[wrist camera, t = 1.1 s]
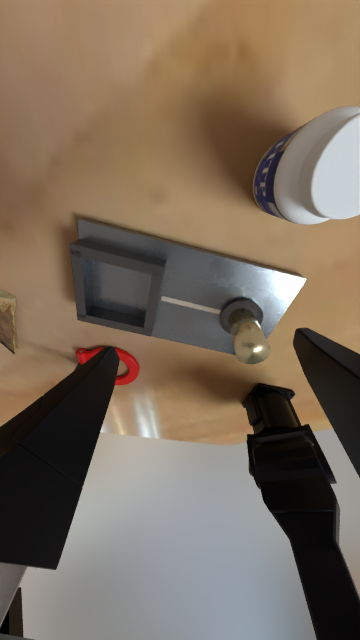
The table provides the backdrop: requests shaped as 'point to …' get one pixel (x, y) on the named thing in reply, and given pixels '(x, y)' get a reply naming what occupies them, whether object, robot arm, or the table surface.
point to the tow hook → (123, 356)
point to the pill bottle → (313, 170)
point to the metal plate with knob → (178, 291)
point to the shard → (8, 322)
